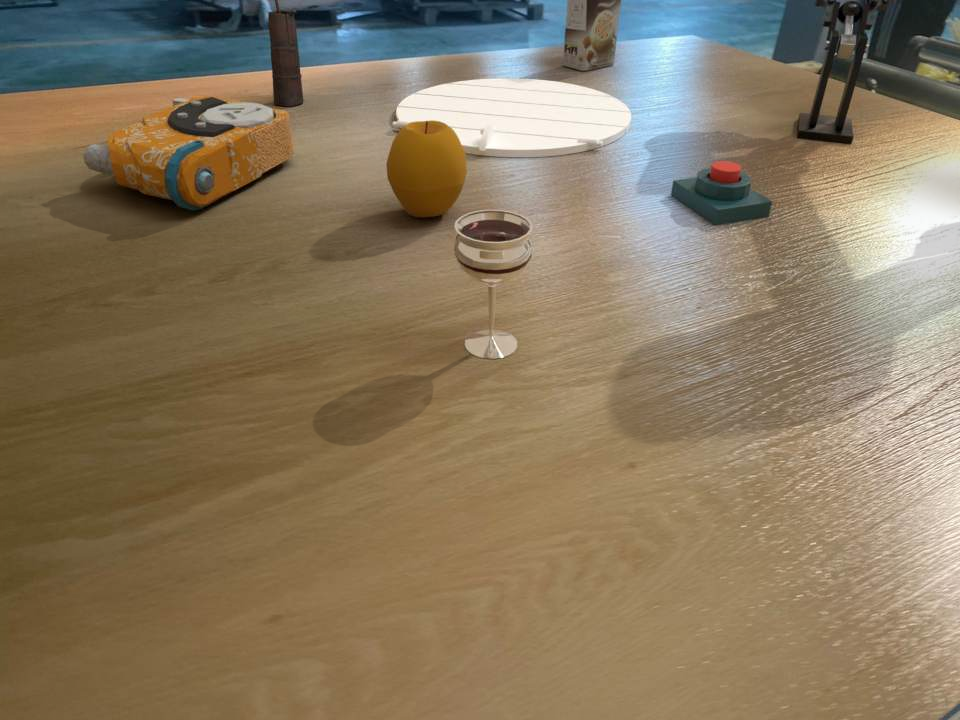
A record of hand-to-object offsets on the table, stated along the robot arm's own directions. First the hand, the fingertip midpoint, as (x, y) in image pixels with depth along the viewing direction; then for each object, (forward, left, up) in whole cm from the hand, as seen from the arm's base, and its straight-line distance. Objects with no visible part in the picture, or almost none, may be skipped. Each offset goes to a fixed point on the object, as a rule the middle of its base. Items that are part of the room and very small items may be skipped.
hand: (843, 44), depth 121 cm
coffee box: (+46, +21, -12) cm, 52 cm away
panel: (-24, +38, -12) cm, 46 cm away
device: (+11, +99, -12) cm, 100 cm away
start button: (-24, +38, -8) cm, 46 cm away
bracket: (-4, +4, -12) cm, 13 cm away
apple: (-14, +74, -12) cm, 76 cm away
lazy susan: (+19, +49, -12) cm, 53 cm away
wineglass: (-44, +77, -12) cm, 89 cm away
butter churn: (+39, +82, -12) cm, 91 cm away
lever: (0, 0, +1) cm, 1 cm away
